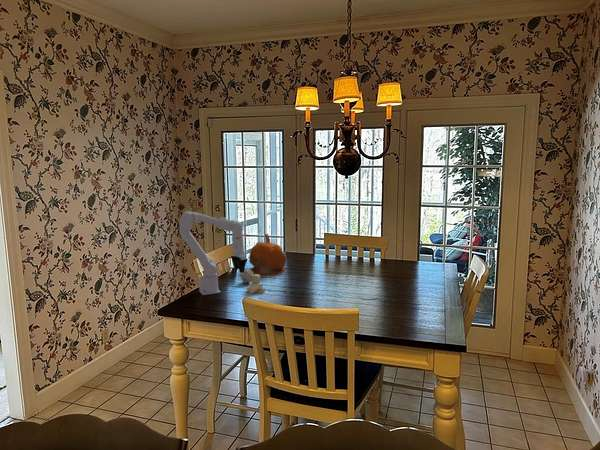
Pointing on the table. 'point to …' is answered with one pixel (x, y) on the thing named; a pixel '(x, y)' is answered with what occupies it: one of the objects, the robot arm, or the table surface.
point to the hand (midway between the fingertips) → (239, 270)
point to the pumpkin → (267, 258)
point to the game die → (247, 276)
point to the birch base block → (255, 290)
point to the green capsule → (256, 279)
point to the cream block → (255, 286)
